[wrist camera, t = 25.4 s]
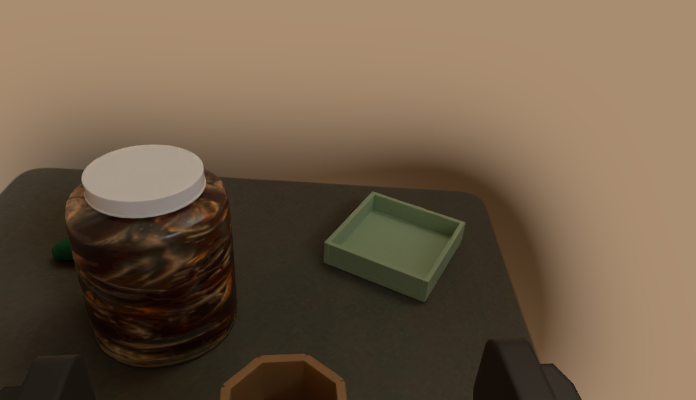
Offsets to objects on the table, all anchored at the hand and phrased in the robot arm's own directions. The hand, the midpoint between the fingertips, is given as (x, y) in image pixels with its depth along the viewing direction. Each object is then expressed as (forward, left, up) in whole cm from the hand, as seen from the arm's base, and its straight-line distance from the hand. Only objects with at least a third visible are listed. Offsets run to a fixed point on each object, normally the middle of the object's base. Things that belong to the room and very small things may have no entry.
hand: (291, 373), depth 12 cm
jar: (+31, +4, -28) cm, 42 cm away
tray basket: (+35, -19, -28) cm, 48 cm away
